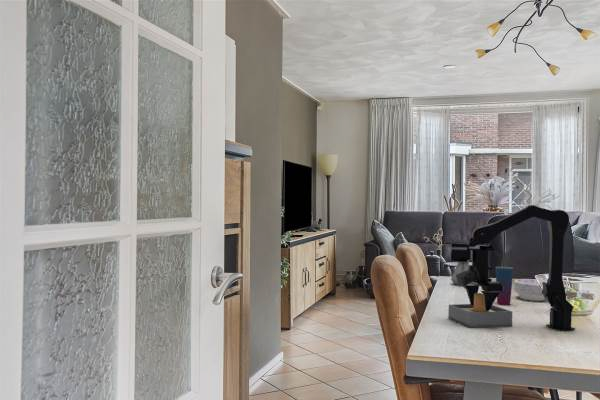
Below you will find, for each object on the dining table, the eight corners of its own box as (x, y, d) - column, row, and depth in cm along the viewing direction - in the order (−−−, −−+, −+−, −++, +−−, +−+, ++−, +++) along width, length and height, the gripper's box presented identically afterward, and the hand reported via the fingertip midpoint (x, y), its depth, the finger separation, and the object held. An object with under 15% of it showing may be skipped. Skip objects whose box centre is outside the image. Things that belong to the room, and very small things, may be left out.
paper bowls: (530, 303, 221) (530, 284, 221) (506, 296, 236) (506, 279, 236) (560, 302, 225) (560, 283, 225) (535, 295, 240) (535, 278, 240)
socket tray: (512, 326, 179) (512, 311, 179) (469, 328, 175) (470, 313, 175) (488, 317, 193) (488, 303, 193) (448, 318, 189) (448, 304, 189)
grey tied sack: (451, 282, 274) (452, 253, 274) (474, 284, 270) (475, 254, 270) (449, 289, 254) (449, 257, 254) (474, 290, 250) (475, 259, 250)
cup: (514, 306, 214) (514, 269, 214) (496, 305, 215) (497, 268, 215) (510, 303, 221) (511, 267, 221) (493, 302, 222) (494, 266, 222)
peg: (488, 321, 183) (488, 295, 183) (477, 321, 182) (478, 295, 182) (481, 318, 186) (481, 293, 187) (471, 318, 186) (471, 293, 186)
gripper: (446, 260, 191) (445, 303, 191) (474, 267, 173) (474, 314, 173) (473, 260, 194) (472, 302, 194) (504, 266, 176) (503, 313, 176)
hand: (479, 308), depth 184 cm, fingers open, 9 cm apart
